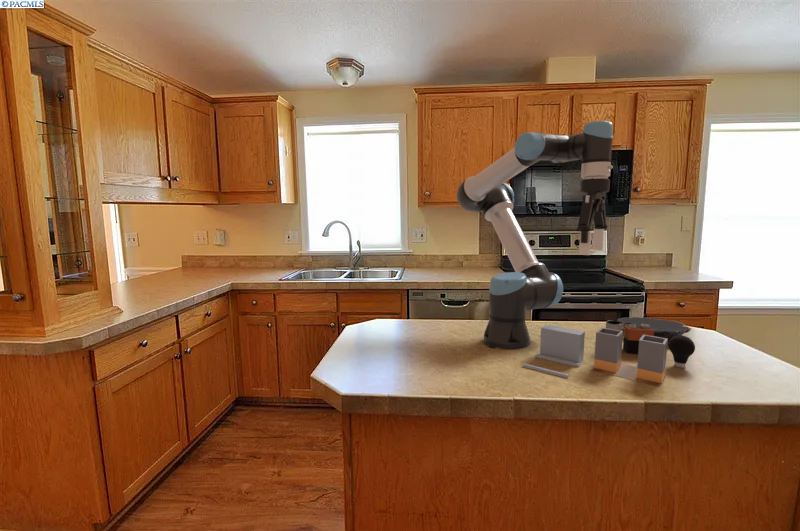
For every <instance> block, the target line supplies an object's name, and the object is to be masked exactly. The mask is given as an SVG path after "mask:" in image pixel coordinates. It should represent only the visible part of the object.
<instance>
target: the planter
mask: <svg viewBox="0 0 800 531" xmlns="http://www.w3.org/2000/svg"><path fill="white" fill-rule="evenodd" d="M605 328H607V329H613V330H619V331H623V332H624V328H623V323H622V322H620V321H617V320H612V319H611V320H606V322H605Z"/></svg>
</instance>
